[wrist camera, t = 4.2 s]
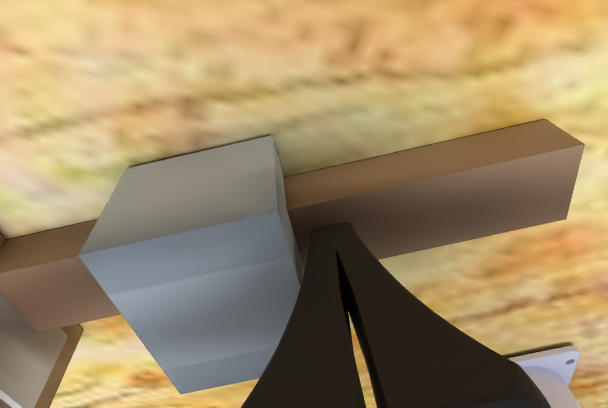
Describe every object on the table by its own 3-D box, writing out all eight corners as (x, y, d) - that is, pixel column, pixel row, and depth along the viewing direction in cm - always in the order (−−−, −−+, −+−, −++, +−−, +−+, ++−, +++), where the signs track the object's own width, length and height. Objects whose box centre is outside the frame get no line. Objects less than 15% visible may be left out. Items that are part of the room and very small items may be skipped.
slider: (310, 273, 17) (323, 365, 13) (197, 297, 17) (180, 394, 13) (272, 135, 13) (277, 211, 9) (126, 168, 13) (77, 255, 9)
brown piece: (525, 236, 17) (599, 320, 13) (41, 339, 18) (-16, 445, 14) (558, 45, 12) (686, 94, 9) (-98, 197, 13) (-239, 300, 9)
